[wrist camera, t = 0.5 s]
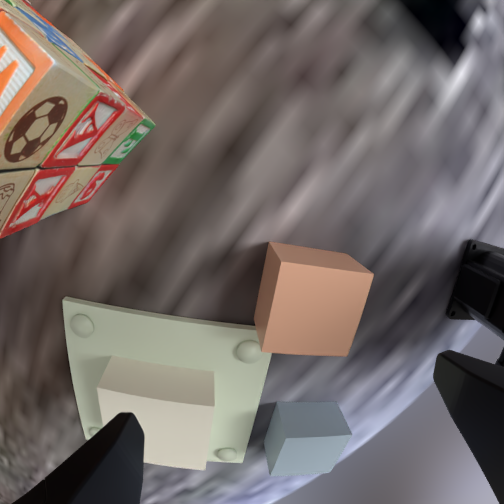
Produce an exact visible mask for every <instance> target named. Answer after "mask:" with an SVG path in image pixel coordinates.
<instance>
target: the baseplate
mask: <svg viewBox="0 0 504 504" xmlns="http://www.w3.org/2000/svg"><path fill="white" fill-rule="evenodd" d="M62 302H63V314H64V325H65V334H66V342H67V350H68V357H69V363H70V369H71V375H72V381H73V386H74V391H75V396H76V401H77V405H78V410H79V414H80V418H81V422H82V426H83V430H84V434H85V438H86V439H87V440H89V439H90V438H91V437H93V436H94V435H95V434H96V433H97V432H98V431H99V430H100V429H102V428H103V422H102V417H101V411H100V405H99V399H98V392H97V386H98V384H99V382H100V379H101V377H102V375H103V373H104V371H105V369H106V367H107V365H108V363H109V361H110V359H111V357H112V355H113V356H117V357H122V358H128V359H133V360H138V361H144V362H150V363H156V364H162V365H169V366H175V367H183V368H190V369H198V370H206V371H214V386H215V408H214V414H213V421H212V427H211V434H210V441H209V447H208V454H207V461H216V462H232V463H242V462H243V459H244V455H245V452H246V449H247V445H248V441H249V438H250V434H251V431H252V427H253V424H254V420H255V416H256V413H257V409H258V405H259V401H260V398H261V394H262V390H263V386H264V382H265V378H266V375H267V371H268V367H269V363H270V359H271V355H272V353H267V352H261V348H260V344H259V339H258V335H257V331H256V326H251V325H242V324H233V323H224V322H216V321H208V320H201V319H193V318H186V317H179V316H172V315H165V314H159V313H153V312H146V311H140V310H135V309H129V308H123V307H118V306H112V305H107V304H101V303H96V302H91V301H86V300H81V299H76V298H72V297H67V296H66V297H65V298H64V299H63V300H62Z"/></svg>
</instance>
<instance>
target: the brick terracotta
mask: <svg viewBox="0 0 504 504" xmlns="http://www.w3.org/2000/svg"><path fill="white" fill-rule="evenodd" d="M373 276H374V274H373V273H372V272H370V271H369V270H368V269H366V268H365V267H364V266H362V265H361V264H360V263H358V262H357V261H356V260H354V259H353V258H352V257H350V256H349V255H348V254H346V253H339V252H333V251H327V250H320V249H314V248H308V247H301V246H295V245H288V244H282V243H275V242H269V243H268V249H267V254H266V259H265V264H264V269H263V274H262V279H261V284H260V289H259V294H258V299H257V304H256V309H255V314H254V322H255V326H256V331H257V335H258V339H259V344H260V348H261V352H267V353H280V354H296V355H316V356H348V353H349V350H350V348H351V345H352V342H353V339H354V336H355V334H356V331H357V328H358V325H359V322H360V319H361V316H362V313H363V309H364V306H365V303H366V300H367V297H368V293H369V290H370V287H371V283H372V280H373Z"/></svg>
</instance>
